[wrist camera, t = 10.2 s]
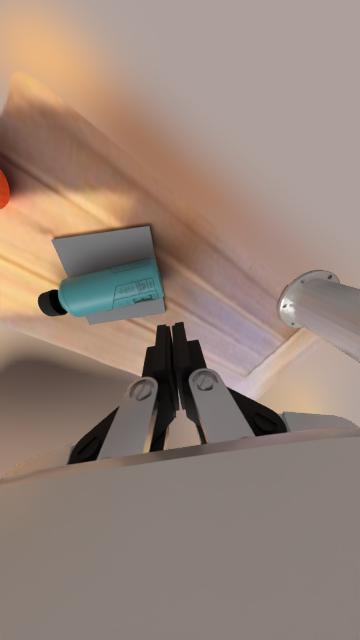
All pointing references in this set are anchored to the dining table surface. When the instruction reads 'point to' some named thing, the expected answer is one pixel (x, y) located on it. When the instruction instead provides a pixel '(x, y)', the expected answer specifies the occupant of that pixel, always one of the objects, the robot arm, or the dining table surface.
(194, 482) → the robot arm
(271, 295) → the dining table surface
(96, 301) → the beverage bottle
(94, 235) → the mat
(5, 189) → the clementine
